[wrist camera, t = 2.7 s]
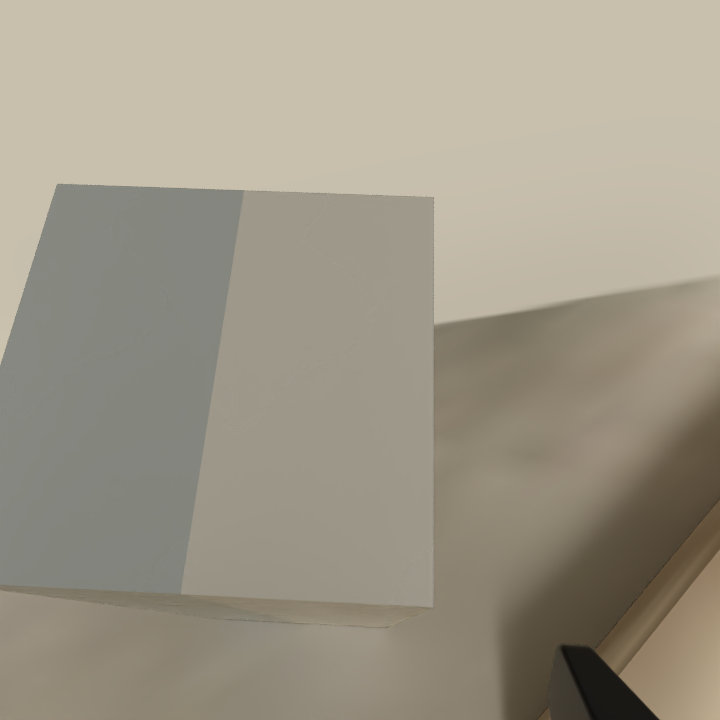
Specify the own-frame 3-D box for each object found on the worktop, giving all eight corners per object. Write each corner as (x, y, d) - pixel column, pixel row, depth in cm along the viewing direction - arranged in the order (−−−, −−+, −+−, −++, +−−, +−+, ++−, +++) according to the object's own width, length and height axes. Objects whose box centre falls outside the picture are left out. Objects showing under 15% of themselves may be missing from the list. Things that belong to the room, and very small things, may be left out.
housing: (392, 459, 20) (433, 197, 8) (387, 627, 18) (433, 607, 6) (238, 452, 20) (57, 184, 8) (215, 618, 18) (-68, 581, 6)
